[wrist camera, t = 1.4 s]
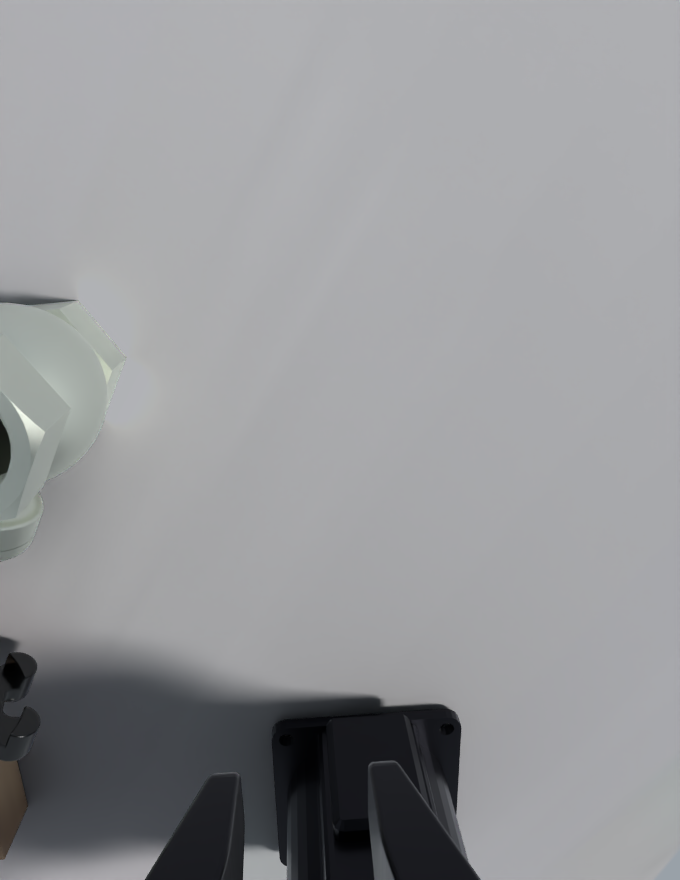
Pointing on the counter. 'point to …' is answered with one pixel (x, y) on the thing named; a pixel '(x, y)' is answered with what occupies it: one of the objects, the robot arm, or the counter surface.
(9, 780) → the hinge jig
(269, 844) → the counter surface
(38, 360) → the valve
